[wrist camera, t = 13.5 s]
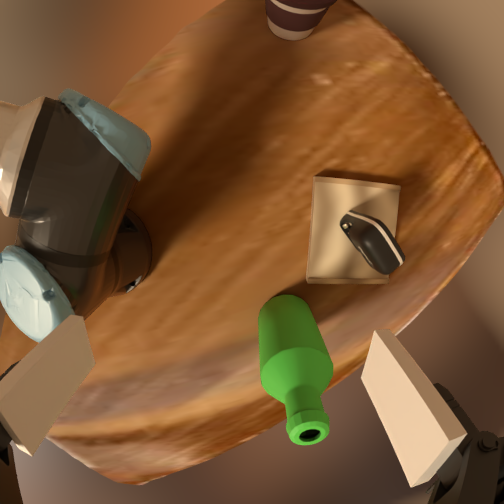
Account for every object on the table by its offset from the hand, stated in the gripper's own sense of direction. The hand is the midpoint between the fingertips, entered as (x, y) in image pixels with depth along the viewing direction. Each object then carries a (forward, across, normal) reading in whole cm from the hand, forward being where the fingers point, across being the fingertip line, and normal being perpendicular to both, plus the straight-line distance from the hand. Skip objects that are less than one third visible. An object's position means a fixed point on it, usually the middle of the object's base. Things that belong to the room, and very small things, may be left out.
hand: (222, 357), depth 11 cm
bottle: (+32, +7, -15) cm, 36 cm away
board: (+32, +17, 0) cm, 36 cm away
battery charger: (+30, +17, 0) cm, 35 cm away
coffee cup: (+32, +6, +34) cm, 47 cm away
